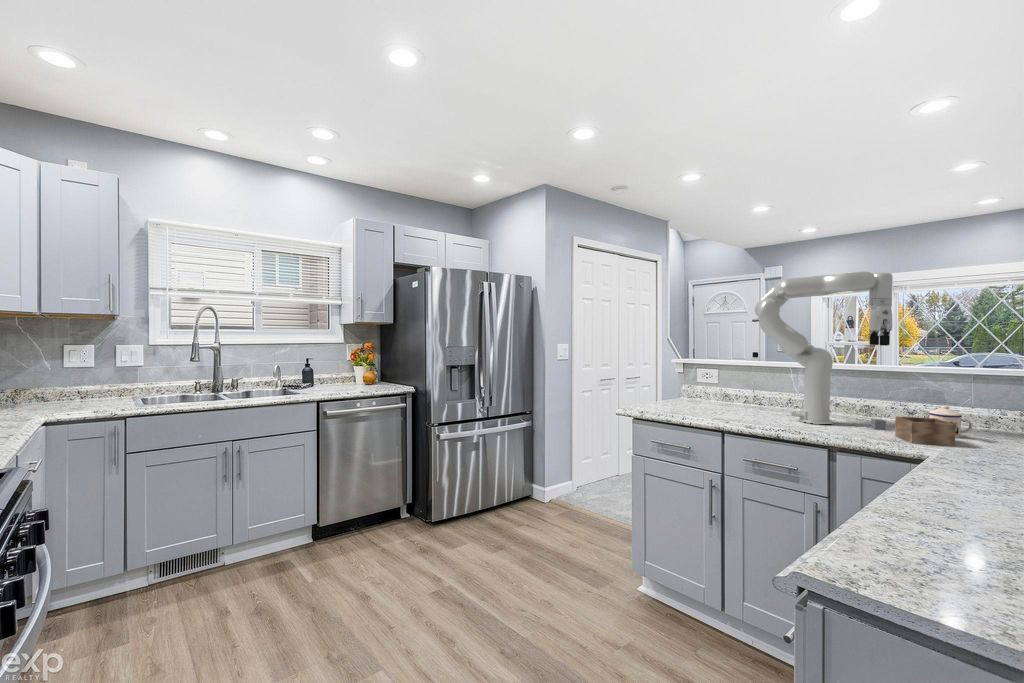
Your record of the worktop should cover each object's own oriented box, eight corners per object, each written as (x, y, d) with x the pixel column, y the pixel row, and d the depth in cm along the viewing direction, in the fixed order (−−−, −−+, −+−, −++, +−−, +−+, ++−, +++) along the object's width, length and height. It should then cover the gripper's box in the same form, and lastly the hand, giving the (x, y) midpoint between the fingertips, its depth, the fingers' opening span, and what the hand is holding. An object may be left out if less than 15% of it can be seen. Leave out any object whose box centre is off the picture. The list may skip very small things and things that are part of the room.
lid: (865, 434, 183) (865, 421, 183) (851, 428, 196) (851, 415, 196) (907, 437, 179) (908, 424, 179) (890, 430, 192) (891, 417, 192)
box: (911, 445, 163) (912, 422, 163) (895, 438, 174) (895, 416, 174) (954, 448, 159) (955, 424, 159) (935, 440, 171) (935, 418, 171)
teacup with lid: (930, 438, 175) (931, 406, 175) (925, 433, 183) (926, 403, 183) (975, 442, 169) (976, 409, 169) (968, 437, 177) (969, 406, 177)
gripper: (901, 302, 188) (900, 345, 188) (881, 304, 204) (880, 344, 205) (878, 302, 190) (877, 345, 190) (861, 304, 206) (860, 344, 207)
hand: (879, 345), depth 197 cm, fingers open, 9 cm apart
